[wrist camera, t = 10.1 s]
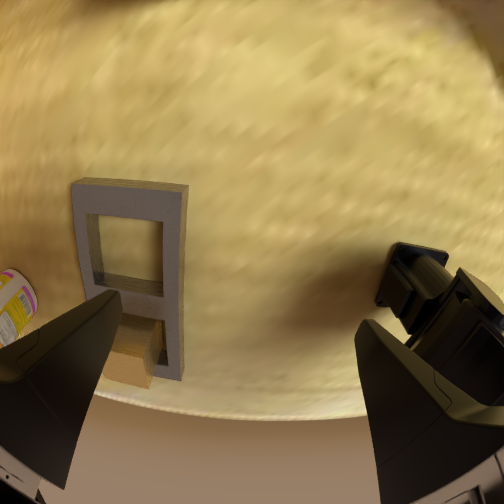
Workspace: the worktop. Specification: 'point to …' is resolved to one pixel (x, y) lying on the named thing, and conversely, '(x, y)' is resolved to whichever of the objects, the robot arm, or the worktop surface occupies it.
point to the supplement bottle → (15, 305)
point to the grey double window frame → (131, 289)
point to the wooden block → (135, 351)
